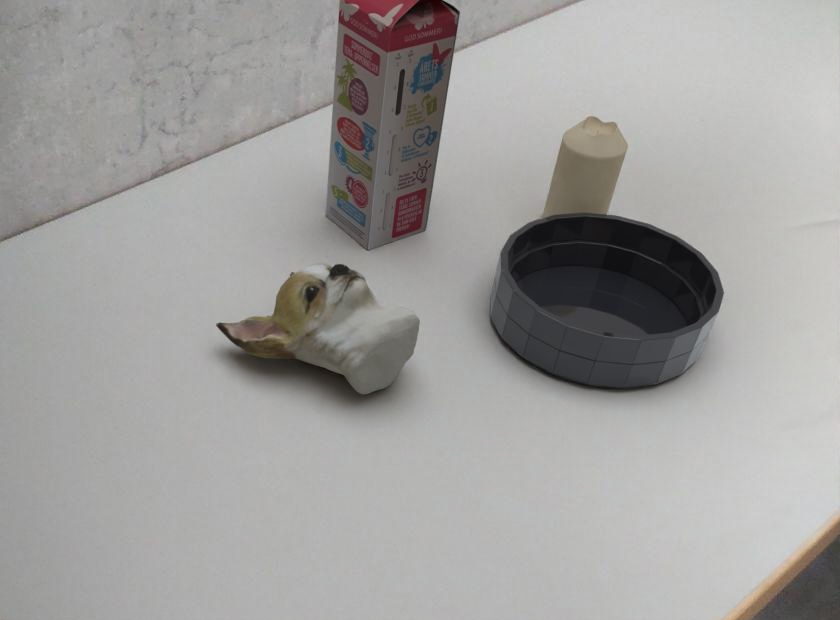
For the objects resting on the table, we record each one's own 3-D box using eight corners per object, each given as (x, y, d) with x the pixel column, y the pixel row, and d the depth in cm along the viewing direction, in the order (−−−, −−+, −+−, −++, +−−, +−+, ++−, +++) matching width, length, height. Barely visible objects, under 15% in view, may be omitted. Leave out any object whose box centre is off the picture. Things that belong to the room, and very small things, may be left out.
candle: (529, 219, 89) (555, 113, 81) (581, 211, 90) (611, 106, 82) (557, 251, 85) (587, 143, 78) (611, 242, 86) (645, 136, 79)
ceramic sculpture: (375, 335, 62) (204, 260, 68) (369, 436, 68) (212, 360, 74) (461, 266, 68) (296, 203, 74) (448, 366, 74) (296, 300, 80)
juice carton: (382, 196, 90) (412, -66, 74) (426, 230, 87) (467, -38, 70) (325, 215, 88) (342, -53, 71) (367, 250, 84) (396, -23, 68)
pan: (602, 245, 86) (618, 194, 82) (745, 352, 77) (770, 300, 73) (448, 295, 80) (457, 243, 76) (581, 418, 71) (600, 365, 67)
